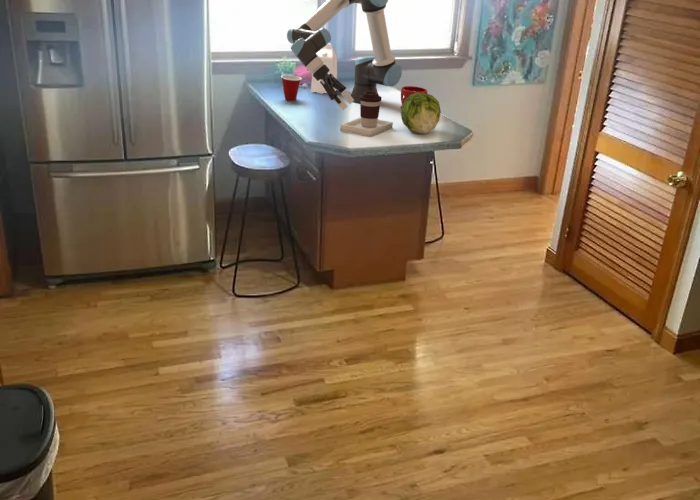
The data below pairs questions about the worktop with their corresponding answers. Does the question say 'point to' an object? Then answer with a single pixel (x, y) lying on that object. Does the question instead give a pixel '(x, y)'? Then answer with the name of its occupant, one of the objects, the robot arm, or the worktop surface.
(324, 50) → the milk
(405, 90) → the plant pot
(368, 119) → the coffee cup
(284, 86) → the plastic cup
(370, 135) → the tray
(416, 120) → the lettuce
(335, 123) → the worktop surface
